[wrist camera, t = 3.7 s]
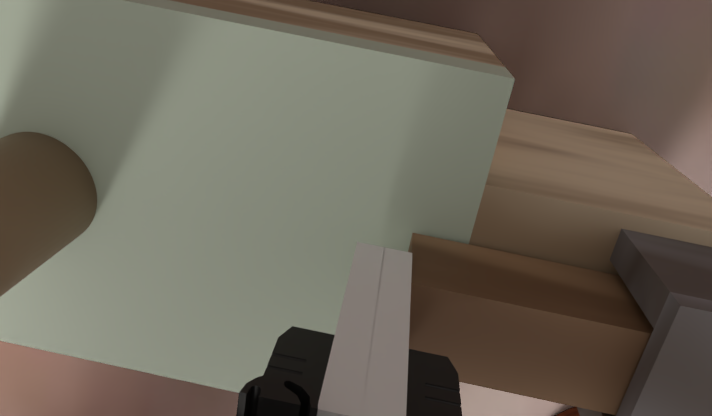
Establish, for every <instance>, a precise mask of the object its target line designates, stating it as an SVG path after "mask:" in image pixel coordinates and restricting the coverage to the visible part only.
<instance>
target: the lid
mask: <svg viewBox="0 0 712 416" xmlns="http://www.w3.org/2000/svg"><path fill="white" fill-rule="evenodd" d="M514 81H515V78H514V77H513V76H512V75H511V73H510V72H509V71H508V70H507V69H506V67H501V66H496V65H491V64H486V63H481V62H476V61H471V60H466V59H461V58H456V57H451V56H446V55H441V54H436V53H431V52H426V51H421V50H416V49H411V48H406V47H401V46H396V45H391V44H386V43H381V42H376V41H371V40H366V39H361V38H356V37H351V36H346V35H341V34H336V33H331V32H326V31H321V30H316V29H311V28H306V27H301V26H296V25H291V24H286V23H281V22H276V21H271V20H266V19H261V18H256V17H251V16H246V15H241V14H236V13H231V12H226V11H221V10H216V9H211V8H206V7H201V6H196V5H191V4H186V3H181V2H176V1H171V0H0V341H4V342H8V343H13V344H17V345H22V346H27V347H31V348H36V349H40V350H45V351H49V352H54V353H59V354H63V355H68V356H72V357H77V358H81V359H86V360H91V361H95V362H100V363H104V364H109V365H114V366H118V367H123V368H127V369H132V370H136V371H141V372H146V373H150V374H155V375H159V376H164V377H168V378H173V379H178V380H182V381H187V382H191V383H196V384H200V385H205V386H210V387H214V388H219V389H223V390H228V391H232V392H237V393H239V392H240V391H241V389H242V388H243V387H244V385H245V384H246V383H247V382H249V381H251V380H253V379H255V378H257V377H259V376H263V375H264V372H265V370H266V368H267V365H268V362H269V360H270V357H271V355H272V352H273V349H274V347H275V344H276V342H277V339H278V337H279V336H281V335H282V334H283V333H284V332H286V331H287V330H288V329H289V328H291V327H292V326H294V327H299V328H304V329H309V330H313V331H318V332H323V333H328V334H333V335H335V332H336V327H337V323H338V319H339V315H340V311H341V307H342V303H343V299H344V294H345V290H346V286H347V282H348V278H349V274H350V270H351V266H352V261H353V257H354V253H355V249H356V245H357V242H361V243H365V244H370V245H375V246H380V247H385V248H390V249H395V250H400V251H405V252H408V249H409V245H410V241H411V237H412V233H417V234H422V235H426V236H431V237H436V238H441V239H446V240H450V241H455V242H460V243H465V244H469V241H470V238H471V234H472V230H473V227H474V223H475V220H476V216H477V213H478V209H479V206H480V202H481V198H482V195H483V191H484V188H485V184H486V181H487V177H488V173H489V170H490V166H491V163H492V159H493V156H494V152H495V149H496V145H497V141H498V138H499V134H500V131H501V127H502V124H503V120H504V116H505V113H506V109H507V106H508V102H509V99H510V95H511V92H512V88H513V84H514Z"/></svg>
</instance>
